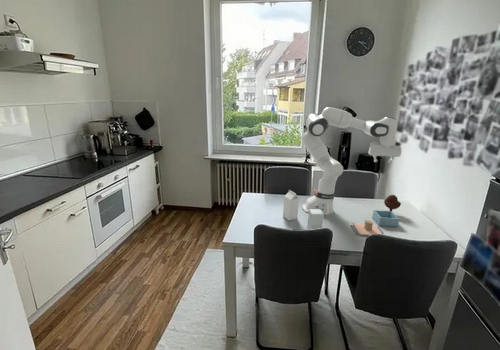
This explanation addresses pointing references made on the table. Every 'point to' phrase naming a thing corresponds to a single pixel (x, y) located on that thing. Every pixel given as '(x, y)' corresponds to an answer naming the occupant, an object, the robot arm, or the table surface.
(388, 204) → the brown toy tree
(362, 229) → the lid
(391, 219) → the dish
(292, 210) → the milk carton
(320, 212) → the supplement box
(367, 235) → the mat
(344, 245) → the table surface
